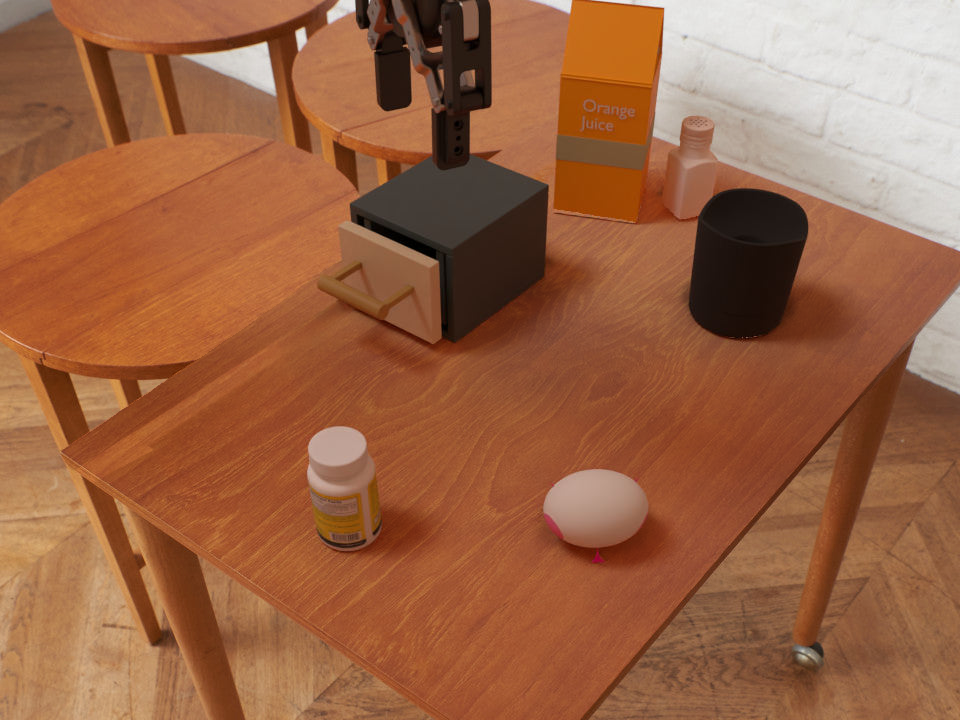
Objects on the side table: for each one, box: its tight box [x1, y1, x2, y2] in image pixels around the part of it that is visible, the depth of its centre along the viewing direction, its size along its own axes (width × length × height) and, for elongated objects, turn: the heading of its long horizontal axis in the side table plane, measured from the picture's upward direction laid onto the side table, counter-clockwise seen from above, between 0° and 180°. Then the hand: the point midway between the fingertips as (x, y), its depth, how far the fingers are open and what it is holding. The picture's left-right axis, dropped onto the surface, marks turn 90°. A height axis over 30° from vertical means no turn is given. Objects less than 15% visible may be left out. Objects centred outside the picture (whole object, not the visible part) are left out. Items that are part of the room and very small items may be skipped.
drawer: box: [316, 218, 448, 345], centre depth 93 cm, size 17×10×8 cm, turn 143°
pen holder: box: [688, 187, 809, 339], centre depth 93 cm, size 9×9×10 cm
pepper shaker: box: [661, 115, 719, 220], centre depth 106 cm, size 4×4×10 cm
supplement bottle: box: [306, 425, 383, 552], centre depth 74 cm, size 5×5×8 cm
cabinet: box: [349, 153, 550, 344], centre depth 96 cm, size 14×12×10 cm
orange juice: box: [553, 0, 665, 222], centre depth 103 cm, size 8×9×20 cm
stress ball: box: [542, 468, 649, 564], centre depth 76 cm, size 8×8×7 cm
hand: (422, 135), depth 67 cm, fingers open, 8 cm apart
